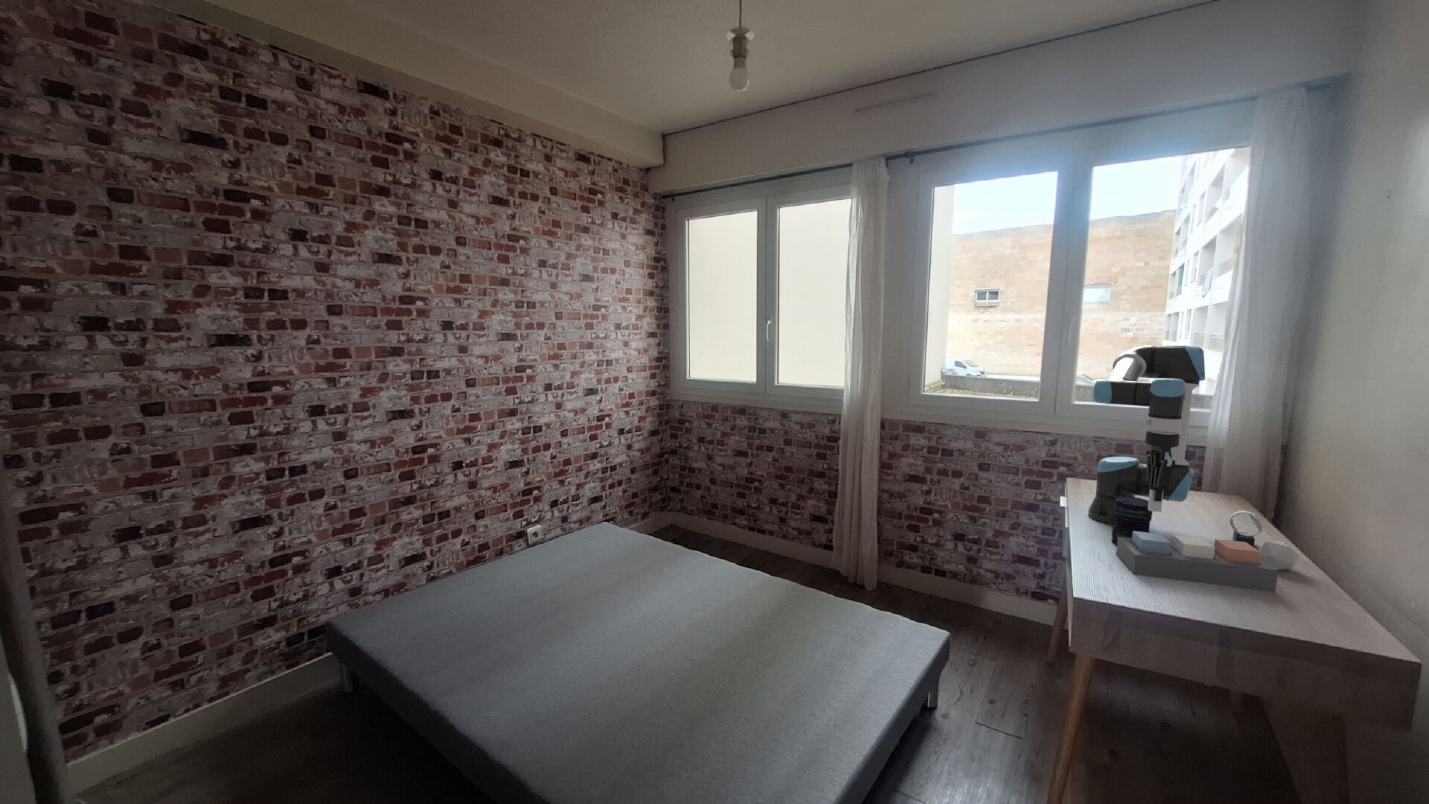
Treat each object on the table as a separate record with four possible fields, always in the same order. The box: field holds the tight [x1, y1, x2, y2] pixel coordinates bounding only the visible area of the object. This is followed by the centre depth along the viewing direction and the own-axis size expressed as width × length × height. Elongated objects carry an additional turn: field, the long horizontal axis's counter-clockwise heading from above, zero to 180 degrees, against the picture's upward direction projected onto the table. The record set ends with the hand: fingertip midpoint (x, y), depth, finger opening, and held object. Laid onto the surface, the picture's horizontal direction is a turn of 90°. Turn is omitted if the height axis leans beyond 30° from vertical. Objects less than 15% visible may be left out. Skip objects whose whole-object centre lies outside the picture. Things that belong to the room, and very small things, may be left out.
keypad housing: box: [1115, 537, 1279, 592], centre depth 157 cm, size 14×32×6 cm, turn 70°
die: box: [1257, 540, 1301, 571], centre depth 159 cm, size 8×9×10 cm
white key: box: [1171, 534, 1215, 559], centre depth 157 cm, size 7×7×5 cm
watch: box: [1228, 510, 1264, 548], centre depth 176 cm, size 6×8×11 cm
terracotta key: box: [1213, 538, 1260, 564], centre depth 153 cm, size 7×7×5 cm
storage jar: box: [1111, 496, 1153, 546], centre depth 176 cm, size 10×10×15 cm
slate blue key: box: [1132, 531, 1172, 555], centre depth 160 cm, size 7×7×5 cm
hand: (1154, 510), depth 158 cm, fingers closed
